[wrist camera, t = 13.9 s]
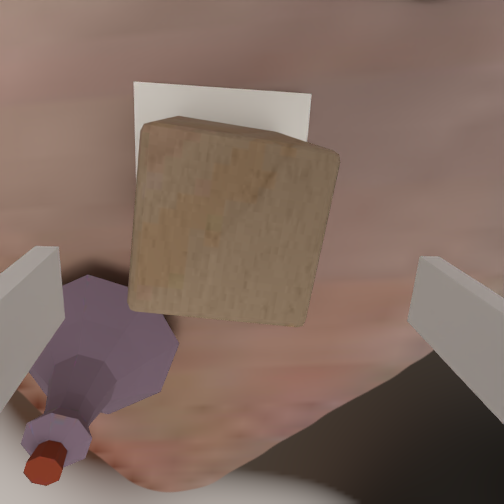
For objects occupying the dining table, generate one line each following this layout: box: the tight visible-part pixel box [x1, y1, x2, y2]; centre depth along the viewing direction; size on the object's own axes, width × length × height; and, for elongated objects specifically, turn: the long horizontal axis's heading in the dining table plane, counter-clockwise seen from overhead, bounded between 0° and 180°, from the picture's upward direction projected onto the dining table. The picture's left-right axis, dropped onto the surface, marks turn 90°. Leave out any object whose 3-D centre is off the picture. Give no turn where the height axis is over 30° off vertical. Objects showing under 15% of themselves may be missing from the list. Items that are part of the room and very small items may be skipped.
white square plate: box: [134, 82, 312, 179], centre depth 42 cm, size 16×16×3 cm
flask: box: [21, 275, 179, 486], centre depth 38 cm, size 16×16×20 cm
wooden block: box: [127, 116, 340, 327], centre depth 31 cm, size 10×10×20 cm
